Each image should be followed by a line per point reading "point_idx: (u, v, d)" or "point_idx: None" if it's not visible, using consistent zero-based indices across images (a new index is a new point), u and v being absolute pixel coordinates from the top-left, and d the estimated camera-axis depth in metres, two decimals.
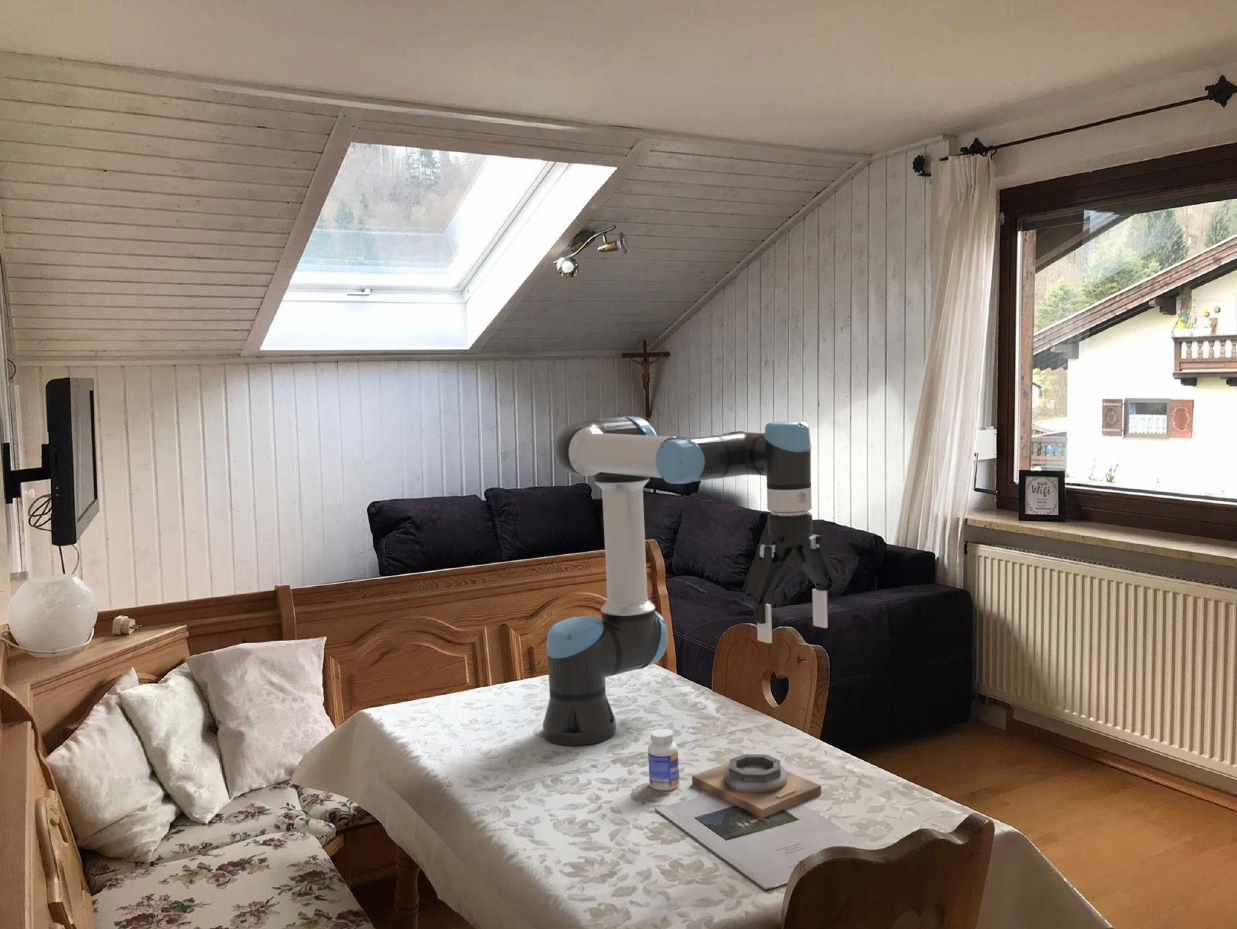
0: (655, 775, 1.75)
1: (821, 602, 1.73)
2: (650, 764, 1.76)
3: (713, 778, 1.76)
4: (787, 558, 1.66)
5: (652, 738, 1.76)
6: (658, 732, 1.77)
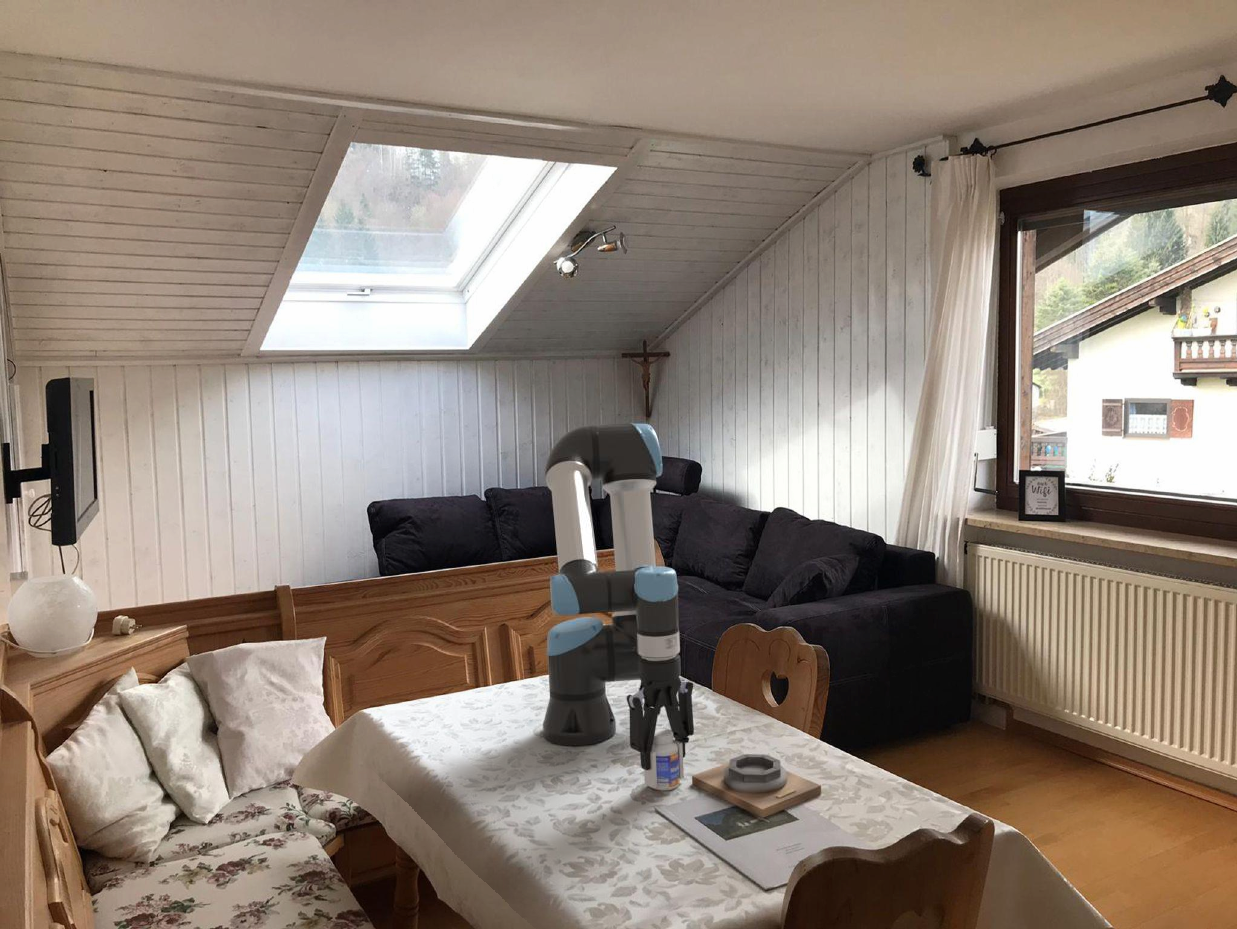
0: None
1: None
2: None
3: (713, 778, 1.76)
4: (657, 702, 1.74)
5: None
6: (658, 732, 1.77)
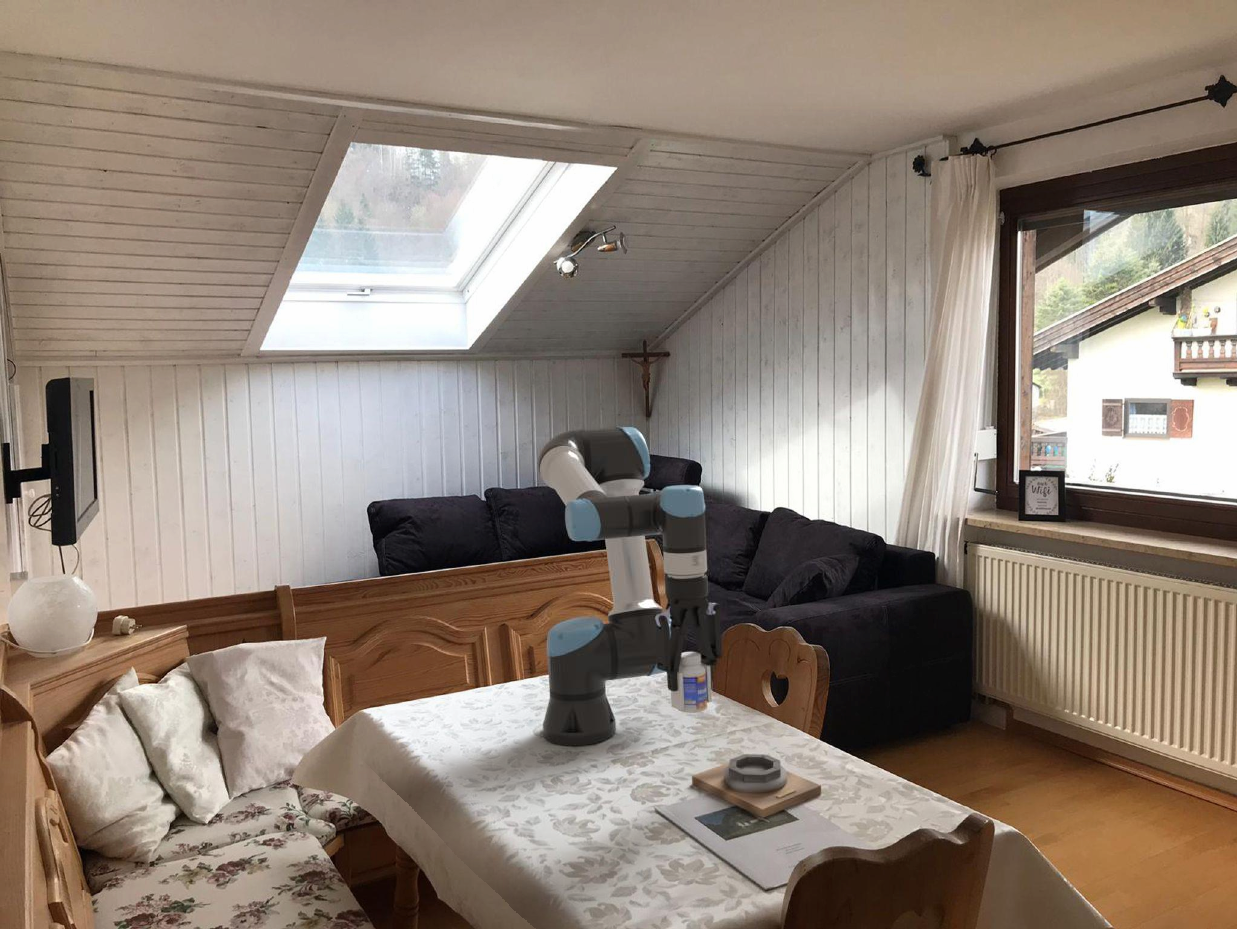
0: None
1: None
2: None
3: (713, 778, 1.76)
4: (684, 622, 1.71)
5: None
6: (686, 654, 1.74)
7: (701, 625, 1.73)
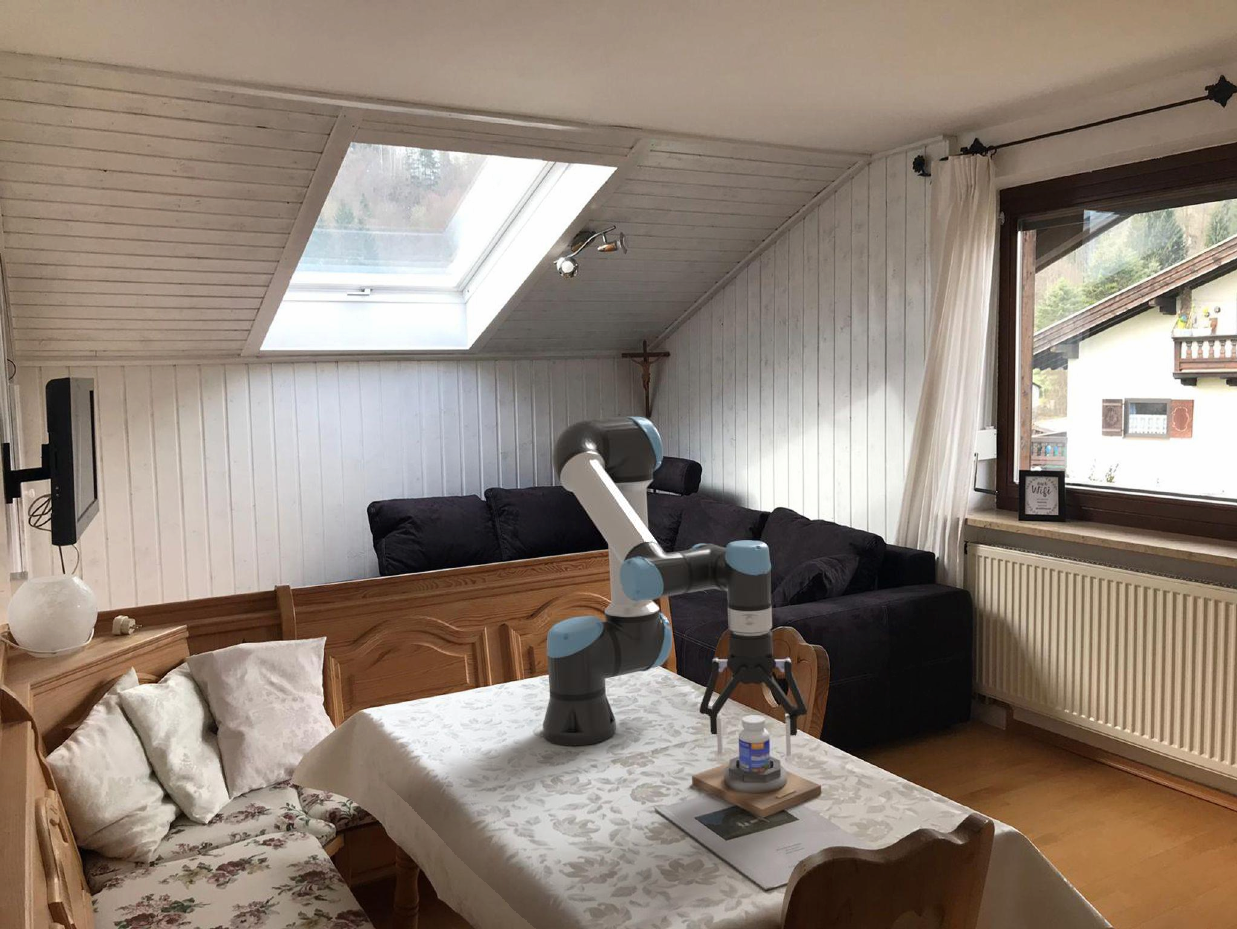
0: (740, 758, 1.73)
1: None
2: None
3: (713, 778, 1.76)
4: (737, 675, 1.71)
5: None
6: (751, 717, 1.74)
7: (766, 683, 1.71)
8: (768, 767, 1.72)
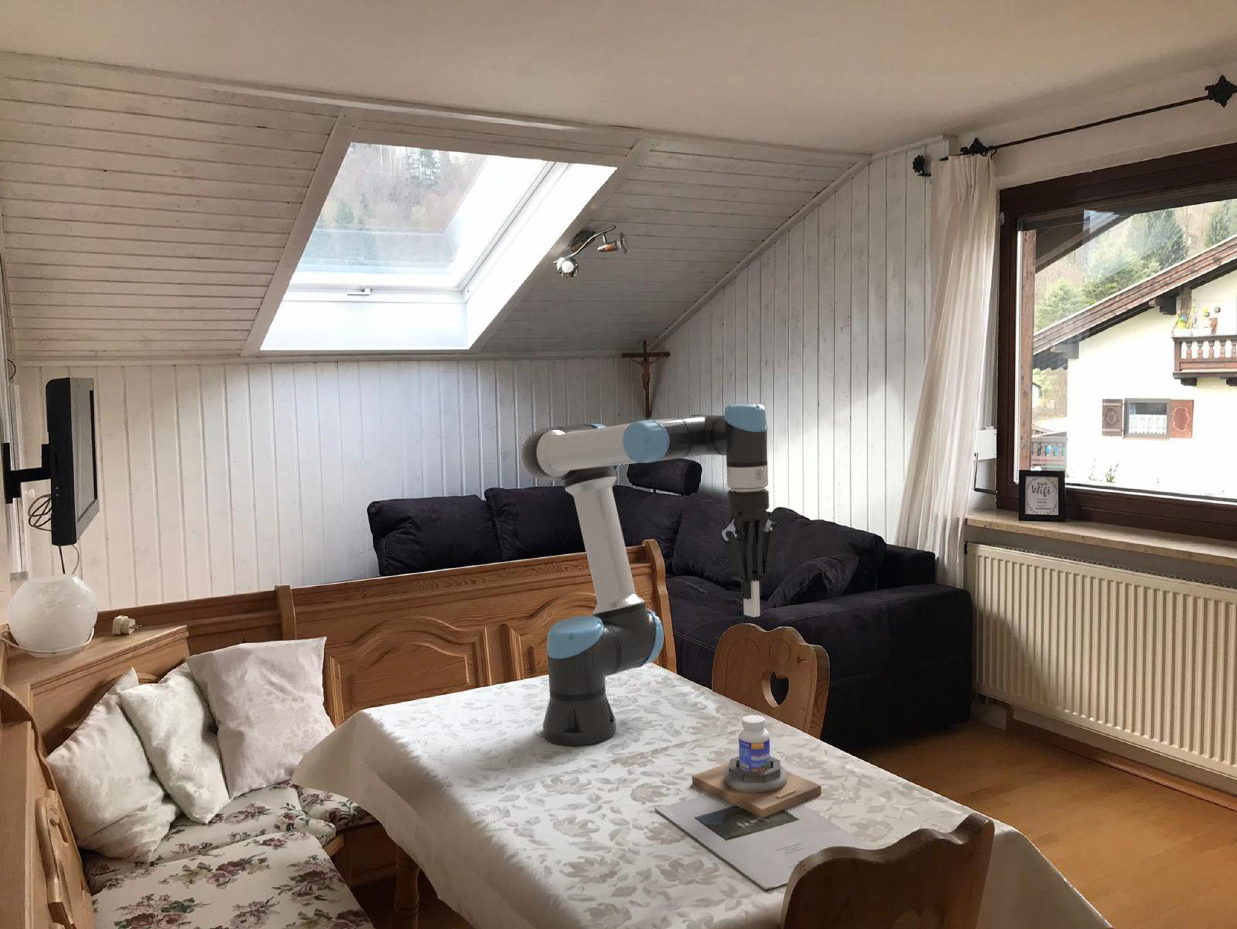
0: (740, 758, 1.73)
1: None
2: None
3: (713, 778, 1.76)
4: (749, 534, 1.79)
5: None
6: (751, 717, 1.74)
7: (759, 538, 1.81)
8: (768, 767, 1.72)
